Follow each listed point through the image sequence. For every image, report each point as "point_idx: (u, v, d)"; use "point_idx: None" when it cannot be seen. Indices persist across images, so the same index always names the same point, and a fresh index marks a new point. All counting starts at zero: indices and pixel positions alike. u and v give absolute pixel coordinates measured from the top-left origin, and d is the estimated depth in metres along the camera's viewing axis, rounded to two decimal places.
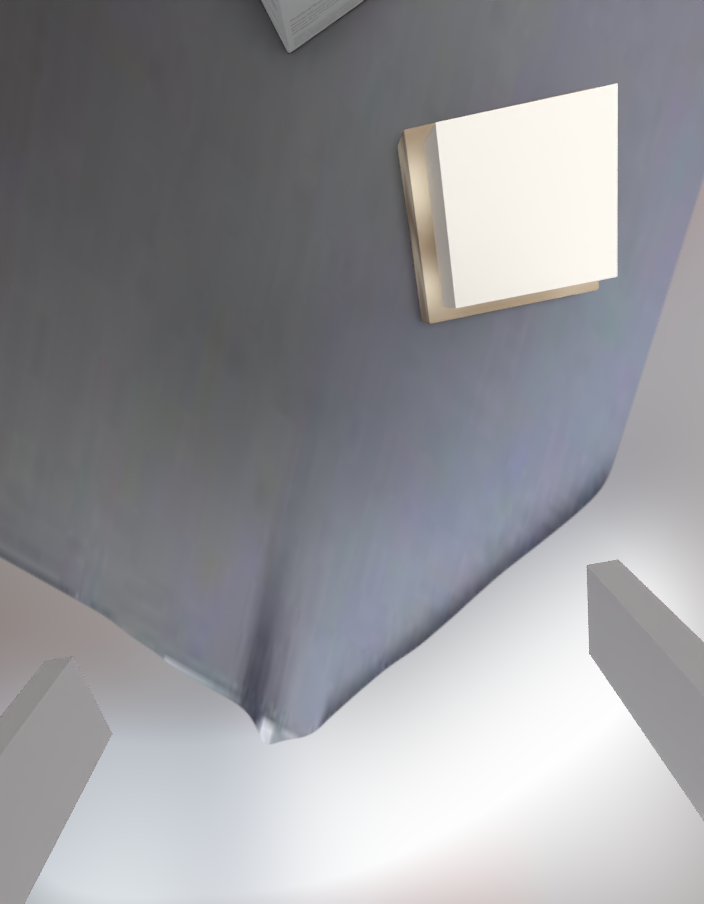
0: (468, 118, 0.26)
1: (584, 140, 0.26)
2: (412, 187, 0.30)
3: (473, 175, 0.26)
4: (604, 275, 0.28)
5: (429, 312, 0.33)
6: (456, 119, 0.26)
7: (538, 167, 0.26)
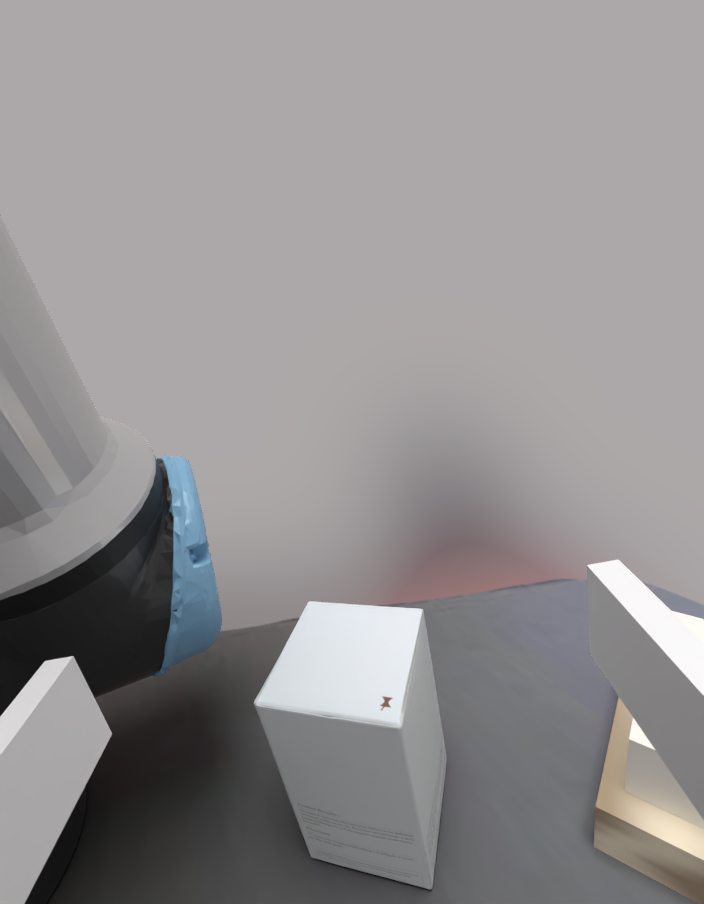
0: None
1: None
2: (673, 844, 0.21)
3: None
4: None
5: None
6: (634, 720, 0.23)
7: None
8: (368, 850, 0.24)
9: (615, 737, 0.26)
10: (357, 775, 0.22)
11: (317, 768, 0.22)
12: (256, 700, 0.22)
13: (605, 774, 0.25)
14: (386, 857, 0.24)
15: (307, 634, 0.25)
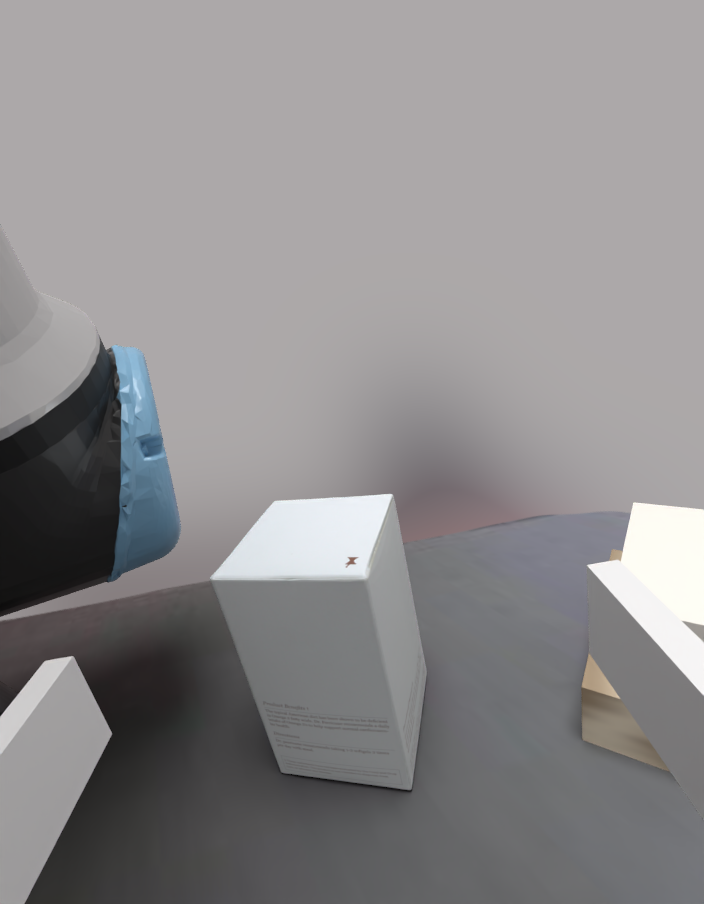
0: None
1: (680, 522, 0.26)
2: None
3: (691, 596, 0.21)
4: None
5: None
6: None
7: (699, 551, 0.23)
8: (341, 749, 0.22)
9: None
10: (324, 650, 0.20)
11: (281, 649, 0.21)
12: (212, 575, 0.20)
13: (590, 659, 0.23)
14: (360, 755, 0.22)
15: (270, 522, 0.24)
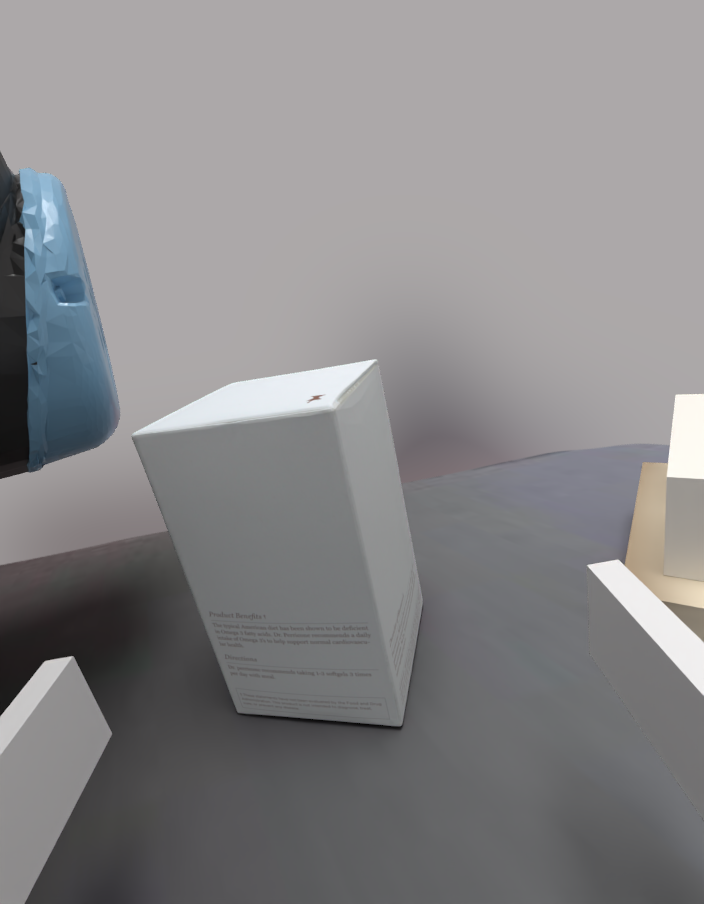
0: (673, 457, 0.17)
1: None
2: None
3: None
4: None
5: None
6: (670, 464, 0.17)
7: None
8: (310, 672, 0.17)
9: (637, 533, 0.20)
10: (282, 526, 0.15)
11: (226, 530, 0.15)
12: (135, 432, 0.15)
13: (629, 564, 0.18)
14: (335, 679, 0.17)
15: (223, 392, 0.19)
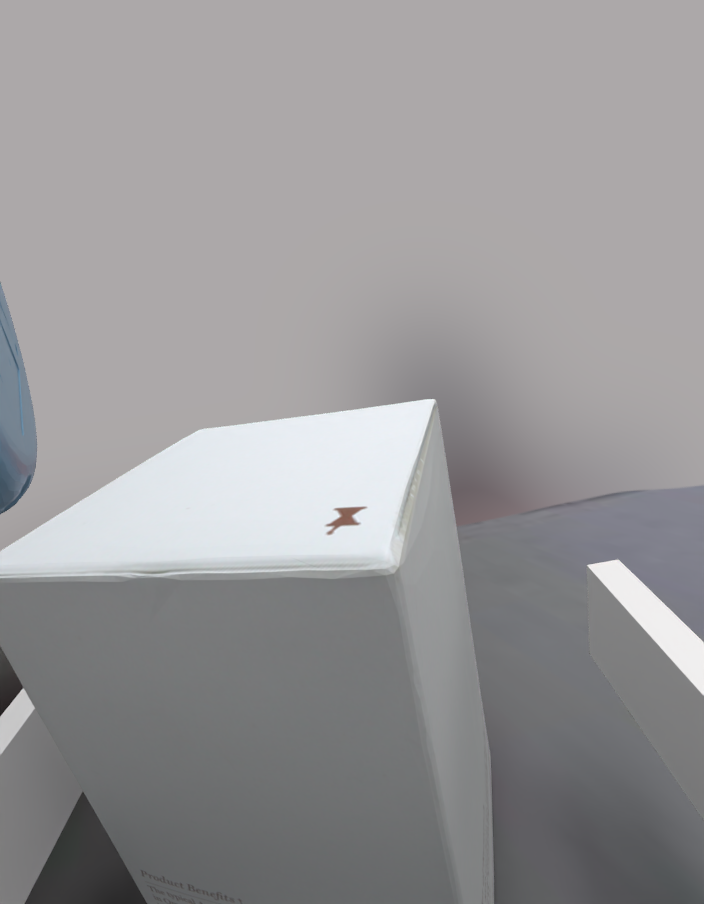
0: None
1: None
2: None
3: None
4: None
5: None
6: None
7: None
8: None
9: None
10: (271, 776, 0.07)
11: (160, 764, 0.08)
12: None
13: None
14: None
15: (174, 457, 0.11)
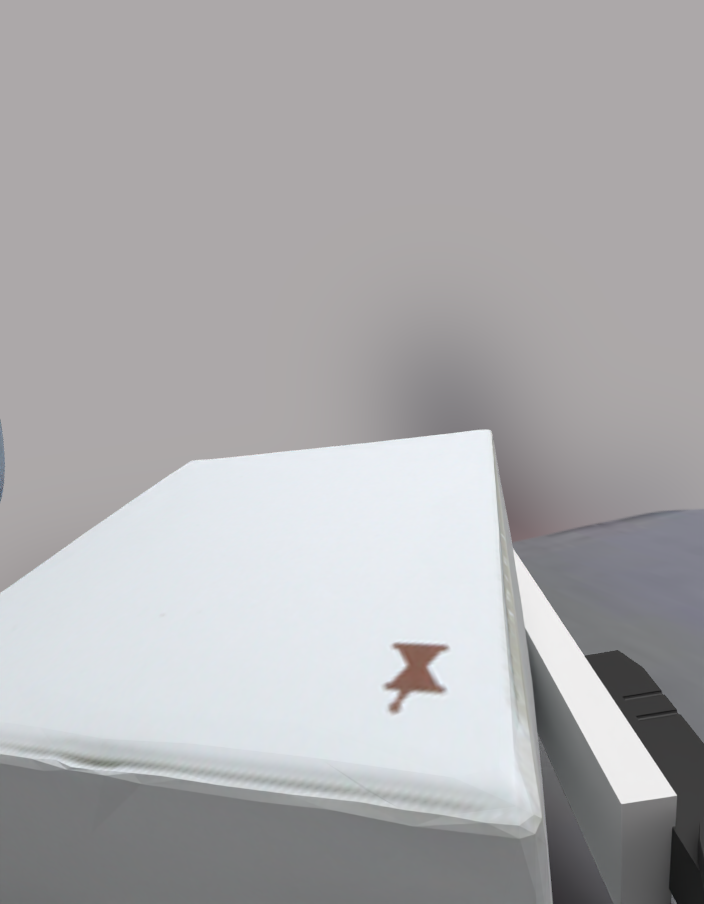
0: None
1: None
2: None
3: None
4: None
5: None
6: None
7: None
8: None
9: None
10: None
11: None
12: None
13: None
14: None
15: (154, 506, 0.08)
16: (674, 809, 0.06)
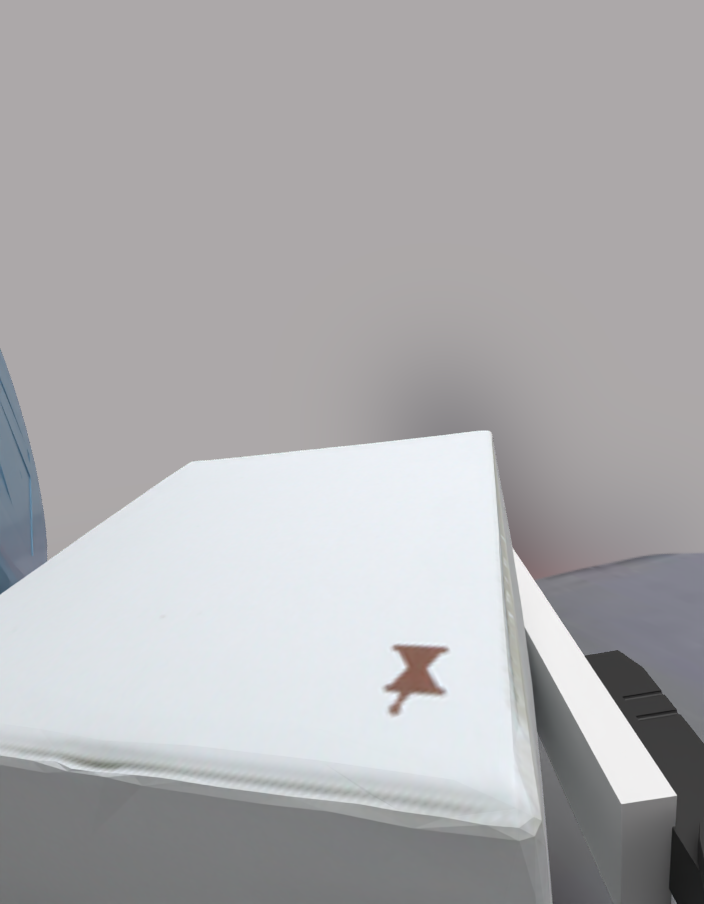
0: None
1: None
2: None
3: None
4: None
5: None
6: None
7: None
8: None
9: None
10: None
11: None
12: None
13: None
14: None
15: (154, 507, 0.08)
16: (674, 809, 0.06)
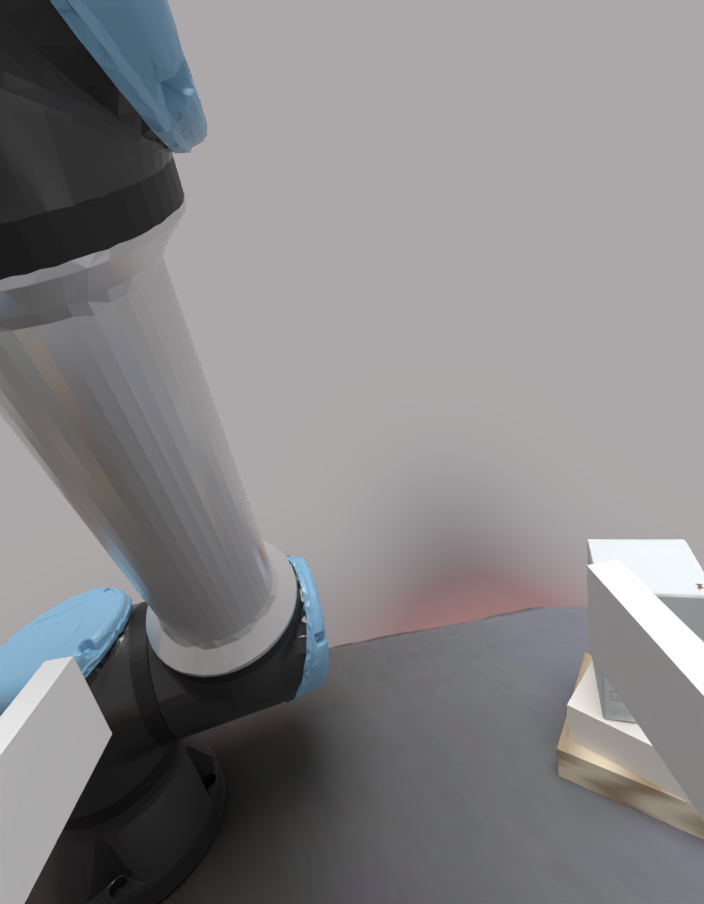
0: (577, 691, 0.40)
1: None
2: (599, 765, 0.38)
3: None
4: None
5: None
6: (573, 695, 0.40)
7: None
8: None
9: None
10: None
11: None
12: None
13: (563, 731, 0.41)
14: None
15: (605, 556, 0.37)
16: None
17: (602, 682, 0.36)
